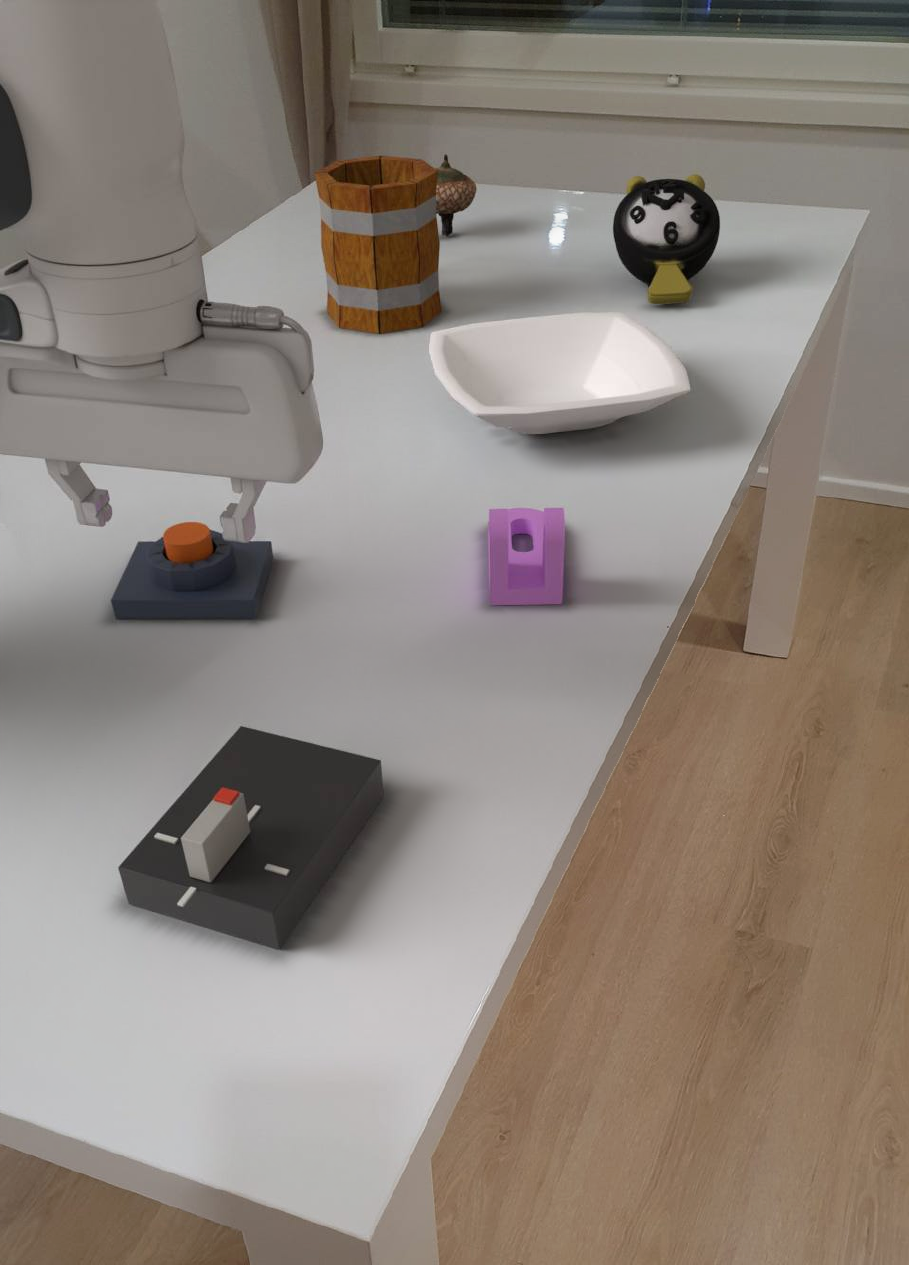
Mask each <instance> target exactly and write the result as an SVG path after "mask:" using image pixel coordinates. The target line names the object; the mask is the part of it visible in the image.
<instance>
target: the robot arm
mask: <svg viewBox="0 0 909 1265" xmlns="http://www.w3.org/2000/svg"><path fill="white" fill-rule="evenodd" d="M164 26H165V25H164V22H163V18H162V14H161V12H160V8H159V4H158V2H157V0H0V232H1V231H3V230H6V229H7V230H8V229H9V230H14V231H16V232H17V233H19V235H20V236H21V237H22V241H23V246H24V249H25V253H26V258H23V259H20V260H17V261H14V262H12V263H10V264H8V265H6V266H4V267H2V268H0V455H2V456H12V457H13V456H14V457H22V458H24V457H25V458H32V459H42V460H44V462H45V466H46V469H47V474H48V475H49V476H50V478H51V479H52V480H53V481H54V483H56V485H57V486H58V487H59V488H60V489H61V491H62V492H63V493H64V494H65V495H66V496H67V498H68V499H69V500H70V501H72V503H73V507H74V511H75V514H76V518H77V519H76V520H77V522H78V523H79V525H81V526H89V527H90V526H91V527H101V528H102V527H105V526H106V523H108V522H109V521H110V520H111V519H112V517H113V507H112V505H111V504H110V501H111V498H110V494H109V489H105V488H104V489H103V488H96V485H94V483H93V481H92V480H91V479H90V477H89V476H88V474H87V473H86V471H85V470H84V469H83V467H82V466H81V463H83V464H94V465H100V466H101V465H103V466H112V467H121V468H122V467H123V468H130V469H131V468H133V469H141V470H152V471H153V470H154V471H163V472H170V473H181V474H182V473H183V474H189V475H190V474H192V475H199V476H200V475H201V476H211V477H221V478H230V483H231V489H232V492H233V493H234V494H241V493H242V494H241V497H240V499H239V501H238V502H237V503H235V502H230V503H229V504H228V505H227V506H226V510H224V511H223V512H222V513H221V514H220V515H219V524H220V527H221V529H222V530H223V531H222V532H221V533H222V536H223V539H224V540H225V541H234V542H243V543H249V541H252V539H253V538H254V536H255V534H256V530H257V525H256V516H255V510H254V507H255V506H256V505H257V501H258V500H259V498H260V496H261V495H262V492H263V490H264V488H265V486H266V484H267V482H271V483H281V484H297V483H299V482H300V481H301V480H303V478H304V477H305V476H306V475H307V474H308V473H309V472H310V471H311V470H312V468H313V467H314V466H315V465H316V464H317V461H318V460H319V458H320V456H321V455H322V452H323V449H324V436H323V429H322V428H323V427H322V423H321V416H320V412H319V406H318V402H317V397H316V393H315V389H314V385H313V380H314V375H315V364H314V354H313V344H312V340H311V337H310V335H309V333H308V331H307V330H305V328H304V327H303V326H302V325H301V324H300V323H299V322H298V321H297V320H295V319H293V318H292V317H289V316H287V315H285V313H284V310H282V309H281V308H278V307H275V306H270V305H257V306H245V305H240V304H235V303H228V302H215V301H209V297H208V291H207V290H208V289H207V285H206V284H207V283H206V276H205V270H204V264H203V263H204V262H203V256H202V255H203V254H202V249H201V242H200V236H199V228H198V225H197V221H196V217H195V215H194V212H193V210H192V208H191V205H190V203H189V201H188V198H187V195H186V190H185V186H184V181H183V180H184V178H183V161H184V152H185V132H184V125H183V119H182V118H183V117H182V112H181V107H180V106H181V105H180V100H179V94H178V88H177V82H176V78H175V71H174V67H173V61H172V56H171V52H170V47H169V43H168V38H167V35H166V34H167V33H166V30H165V27H164ZM284 325H286V326H288V327H284Z"/></svg>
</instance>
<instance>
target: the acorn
mask: <svg viewBox="0 0 909 1265" xmlns="http://www.w3.org/2000/svg"><path fill="white" fill-rule="evenodd" d="M435 169H436V170H437V171H438V174H437V187H436V215H438V216H439V217H440V220H441V221H440V222H441V236H444V237H449V236H450V235H452V234H453V231H454V227H453V220H454V216H455V214H456V213H459V212H463V211H465V210H467V208H469V207H470V206H471V204H472V203H473V201H474V199H475V198H476V194H477V184H476V182H475V181H474V180H473V179H472V178H471V177H470V176H467V175H466V174H464V173H463V172H462V171H461V170H458V169H457V168H453V167H452V166H451V164H450V163H449V156H448V155H447V154H446V153H445V154H444V156H443V162H442V163H441V164H440V166H439V167H435Z"/></svg>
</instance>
